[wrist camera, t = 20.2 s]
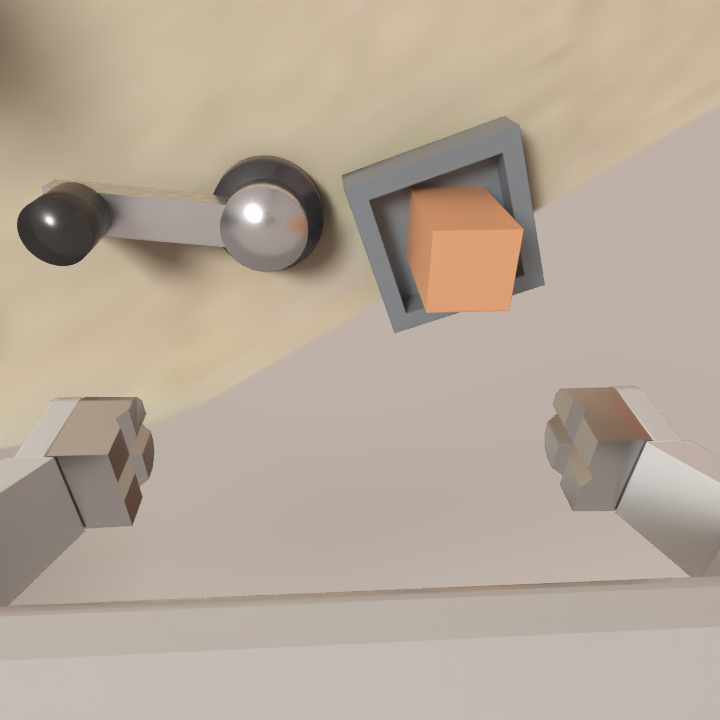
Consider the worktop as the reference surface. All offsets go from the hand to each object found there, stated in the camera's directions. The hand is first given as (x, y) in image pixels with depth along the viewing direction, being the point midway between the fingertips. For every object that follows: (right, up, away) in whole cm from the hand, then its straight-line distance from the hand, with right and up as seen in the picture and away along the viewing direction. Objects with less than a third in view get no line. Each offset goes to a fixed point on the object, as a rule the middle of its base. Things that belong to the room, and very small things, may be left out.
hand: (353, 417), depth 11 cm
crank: (-9, +9, +18) cm, 22 cm away
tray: (+5, +9, +20) cm, 23 cm away
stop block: (+5, +9, +20) cm, 22 cm away
